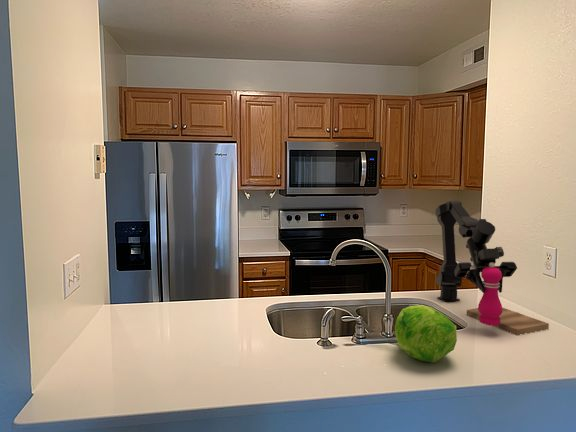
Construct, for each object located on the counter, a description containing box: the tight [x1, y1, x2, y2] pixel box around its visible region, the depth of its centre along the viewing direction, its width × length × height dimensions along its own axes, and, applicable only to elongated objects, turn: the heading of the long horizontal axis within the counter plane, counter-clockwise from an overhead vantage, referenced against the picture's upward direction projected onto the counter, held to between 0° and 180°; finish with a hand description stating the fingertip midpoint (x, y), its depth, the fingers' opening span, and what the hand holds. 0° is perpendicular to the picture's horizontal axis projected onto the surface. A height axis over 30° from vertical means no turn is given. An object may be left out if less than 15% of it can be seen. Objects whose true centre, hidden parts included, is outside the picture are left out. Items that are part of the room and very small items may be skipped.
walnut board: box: [466, 307, 550, 336], centre depth 148 cm, size 22×14×2 cm, turn 20°
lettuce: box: [394, 304, 458, 363], centre depth 121 cm, size 17×20×15 cm
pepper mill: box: [477, 262, 503, 327], centre depth 137 cm, size 7×7×20 cm
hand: (492, 292), depth 135 cm, fingers closed on pepper mill, 5 cm apart
